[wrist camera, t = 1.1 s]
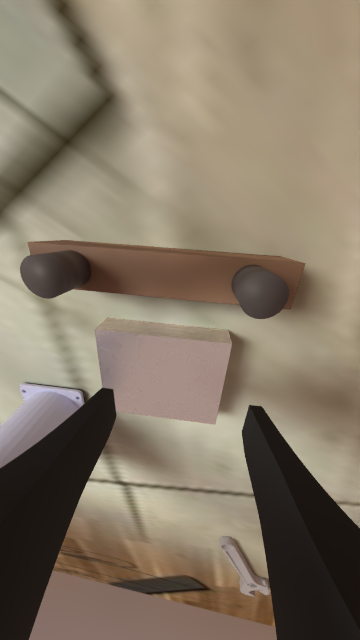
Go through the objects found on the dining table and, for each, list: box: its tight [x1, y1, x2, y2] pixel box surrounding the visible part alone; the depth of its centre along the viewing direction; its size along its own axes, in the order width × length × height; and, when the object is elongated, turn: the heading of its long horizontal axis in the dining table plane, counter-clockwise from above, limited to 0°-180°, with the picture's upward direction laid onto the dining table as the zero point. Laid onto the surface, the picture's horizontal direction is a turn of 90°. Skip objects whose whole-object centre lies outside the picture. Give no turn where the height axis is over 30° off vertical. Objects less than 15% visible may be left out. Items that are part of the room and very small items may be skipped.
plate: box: [95, 318, 232, 424], centre depth 20 cm, size 10×12×3 cm
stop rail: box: [20, 240, 305, 319], centre depth 13 cm, size 3×18×7 cm, turn 86°
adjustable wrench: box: [220, 536, 269, 596], centre depth 40 cm, size 25×6×2 cm, turn 17°
